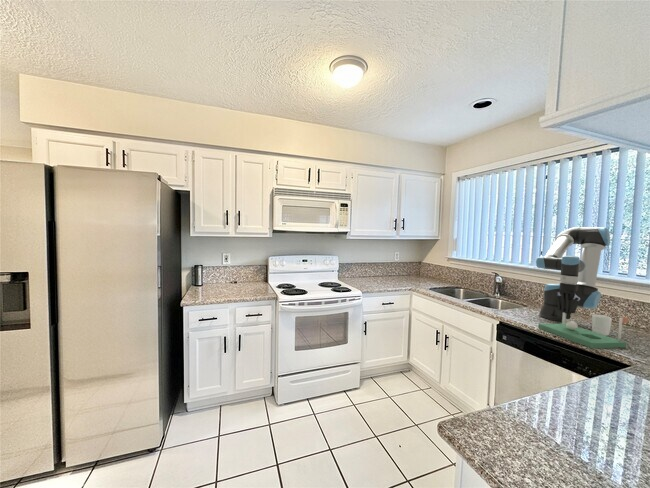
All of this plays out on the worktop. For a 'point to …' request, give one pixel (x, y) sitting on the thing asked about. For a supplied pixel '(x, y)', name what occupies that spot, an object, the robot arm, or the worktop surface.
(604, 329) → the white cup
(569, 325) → the ball
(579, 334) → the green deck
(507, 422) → the worktop surface
